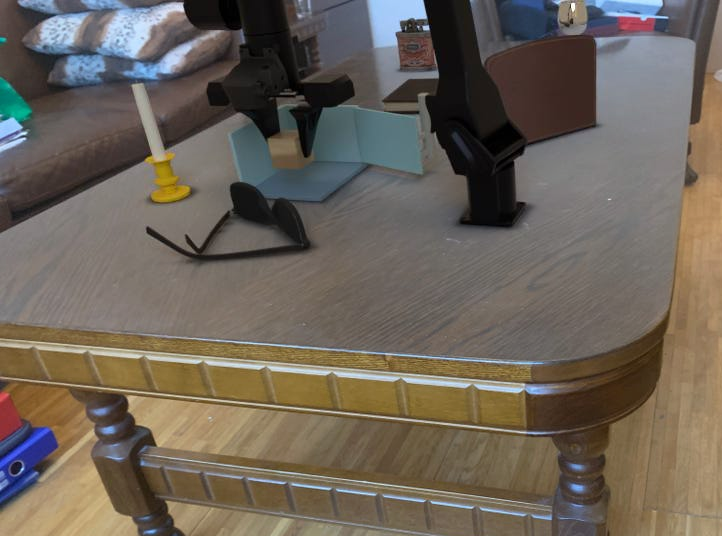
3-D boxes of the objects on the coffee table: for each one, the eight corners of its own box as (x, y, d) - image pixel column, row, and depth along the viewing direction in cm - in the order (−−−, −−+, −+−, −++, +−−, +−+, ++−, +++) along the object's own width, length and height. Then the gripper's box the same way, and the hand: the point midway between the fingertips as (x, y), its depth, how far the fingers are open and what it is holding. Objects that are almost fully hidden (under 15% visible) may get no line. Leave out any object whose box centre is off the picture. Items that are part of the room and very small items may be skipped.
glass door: (443, 164, 105) (436, 93, 100) (421, 174, 102) (412, 102, 97) (384, 152, 111) (374, 85, 106) (361, 162, 109) (350, 93, 104)
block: (299, 169, 100) (293, 139, 98) (273, 168, 101) (266, 138, 99) (314, 159, 103) (309, 130, 101) (289, 158, 104) (283, 129, 102)
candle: (151, 193, 107) (114, 78, 99) (190, 186, 108) (157, 72, 100) (152, 205, 103) (113, 86, 94) (192, 197, 104) (157, 79, 96)
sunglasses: (138, 250, 90) (124, 210, 87) (246, 212, 98) (236, 174, 95) (205, 291, 79) (192, 248, 77) (320, 244, 88) (311, 203, 85)
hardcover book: (512, 112, 128) (511, 98, 127) (383, 113, 133) (381, 100, 132) (528, 88, 141) (528, 75, 140) (410, 90, 146) (409, 78, 145)
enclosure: (321, 201, 99) (308, 136, 95) (243, 197, 103) (226, 133, 98) (368, 165, 110) (358, 105, 106) (296, 162, 114) (283, 104, 109)
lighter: (397, 71, 161) (391, 20, 156) (403, 67, 164) (397, 17, 159) (433, 71, 159) (427, 19, 154) (438, 67, 162) (433, 16, 156)
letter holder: (597, 125, 118) (598, 28, 111) (492, 156, 110) (485, 52, 102) (557, 113, 125) (555, 21, 118) (455, 141, 117) (446, 43, 109)
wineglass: (553, 66, 154) (551, 2, 148) (577, 62, 156) (577, -2, 150) (567, 71, 150) (567, 5, 143) (592, 66, 152) (593, 1, 145)
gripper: (161, 46, 90) (198, 174, 98) (299, 44, 84) (325, 180, 92) (217, 27, 99) (246, 147, 107) (346, 24, 93) (366, 151, 101)
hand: (293, 156), depth 102 cm, fingers closed on block, 4 cm apart
